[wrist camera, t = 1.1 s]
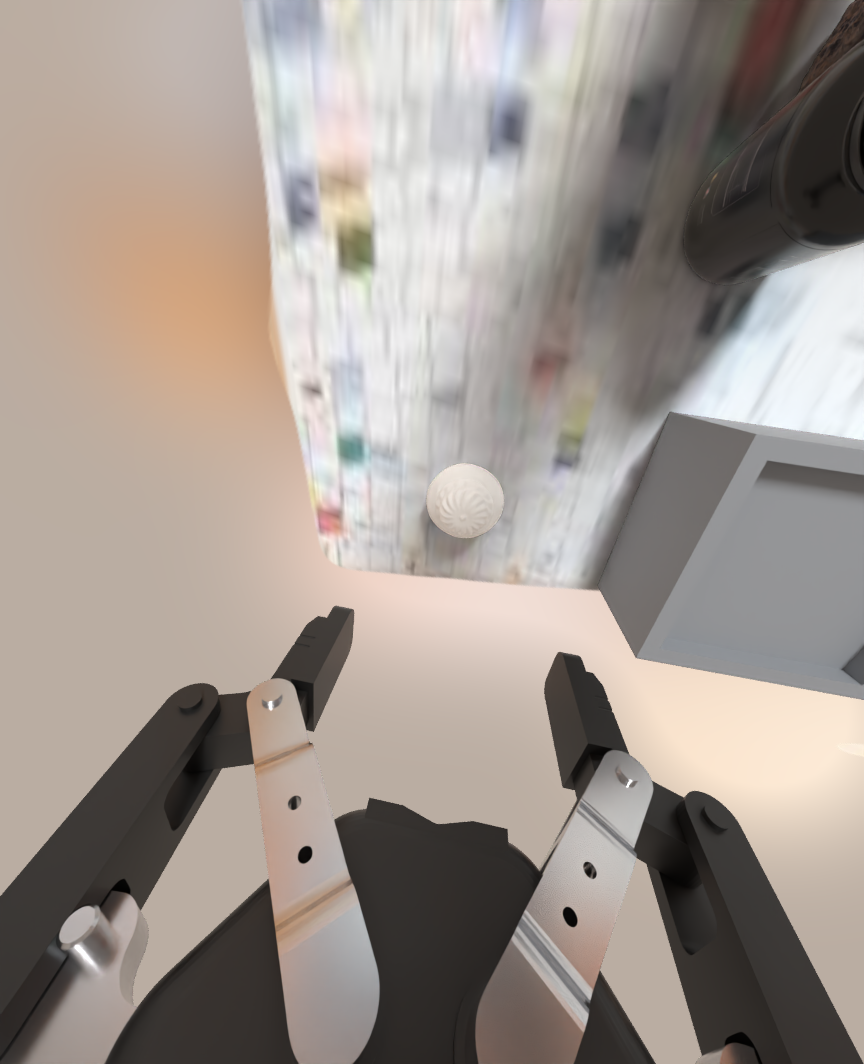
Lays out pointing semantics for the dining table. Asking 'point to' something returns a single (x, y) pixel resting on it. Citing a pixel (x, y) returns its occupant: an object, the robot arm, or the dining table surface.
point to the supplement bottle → (787, 185)
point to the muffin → (465, 500)
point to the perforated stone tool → (839, 41)
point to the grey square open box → (746, 555)
